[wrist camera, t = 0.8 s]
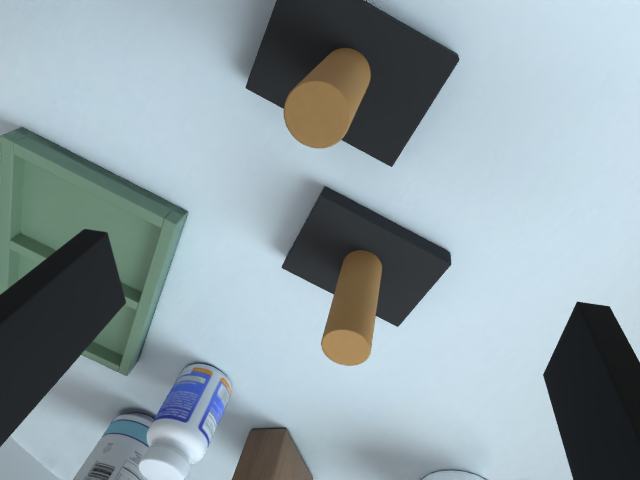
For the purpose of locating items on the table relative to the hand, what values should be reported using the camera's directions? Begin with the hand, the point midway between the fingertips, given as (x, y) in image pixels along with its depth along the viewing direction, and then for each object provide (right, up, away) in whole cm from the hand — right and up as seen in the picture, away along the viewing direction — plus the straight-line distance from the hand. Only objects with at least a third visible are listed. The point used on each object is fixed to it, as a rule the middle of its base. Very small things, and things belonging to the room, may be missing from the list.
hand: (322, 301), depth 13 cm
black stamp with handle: (+2, +12, +13) cm, 18 cm away
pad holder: (-20, 0, +26) cm, 33 cm away
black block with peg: (+3, +1, +20) cm, 20 cm away
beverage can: (-20, -20, +38) cm, 48 cm away
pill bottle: (-11, -12, +32) cm, 36 cm away
